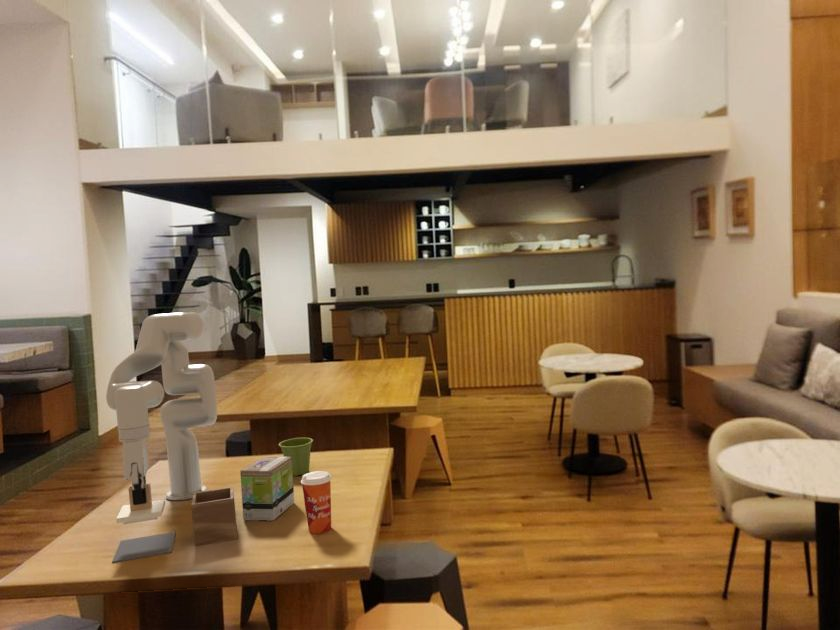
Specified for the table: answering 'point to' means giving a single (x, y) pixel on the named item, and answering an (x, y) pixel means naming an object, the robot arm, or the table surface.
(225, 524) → the box
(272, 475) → the tea box
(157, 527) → the table surface
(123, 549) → the mat
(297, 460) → the plant pot
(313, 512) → the coffee cup
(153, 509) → the lid
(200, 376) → the robot arm
